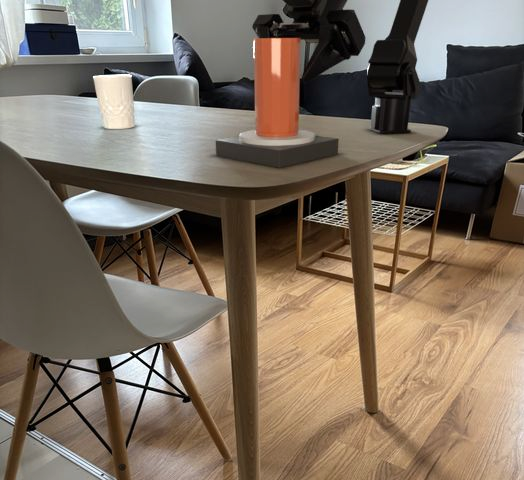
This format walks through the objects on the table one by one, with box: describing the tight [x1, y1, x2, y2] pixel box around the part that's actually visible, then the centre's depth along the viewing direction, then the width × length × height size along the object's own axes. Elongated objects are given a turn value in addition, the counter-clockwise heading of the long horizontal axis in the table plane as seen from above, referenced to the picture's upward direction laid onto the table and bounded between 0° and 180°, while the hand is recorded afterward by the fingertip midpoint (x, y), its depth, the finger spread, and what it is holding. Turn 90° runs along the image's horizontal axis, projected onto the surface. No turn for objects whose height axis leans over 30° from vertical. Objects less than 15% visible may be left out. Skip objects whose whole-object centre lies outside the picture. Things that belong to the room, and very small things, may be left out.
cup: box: [253, 37, 302, 137], centre depth 78 cm, size 7×7×13 cm
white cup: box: [92, 74, 136, 130], centre depth 110 cm, size 8×8×10 cm
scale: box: [215, 129, 340, 169], centre depth 82 cm, size 14×14×3 cm
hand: (280, 79), depth 78 cm, fingers open, 9 cm apart
